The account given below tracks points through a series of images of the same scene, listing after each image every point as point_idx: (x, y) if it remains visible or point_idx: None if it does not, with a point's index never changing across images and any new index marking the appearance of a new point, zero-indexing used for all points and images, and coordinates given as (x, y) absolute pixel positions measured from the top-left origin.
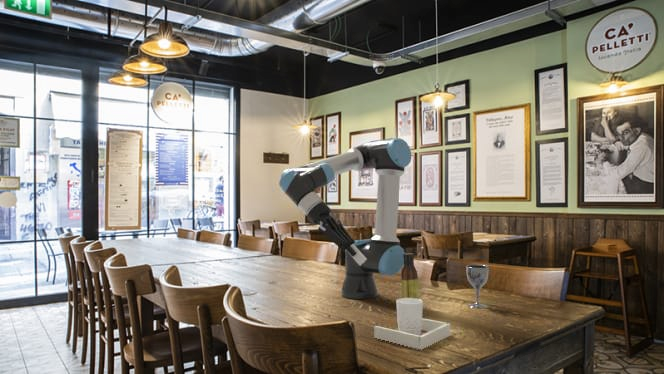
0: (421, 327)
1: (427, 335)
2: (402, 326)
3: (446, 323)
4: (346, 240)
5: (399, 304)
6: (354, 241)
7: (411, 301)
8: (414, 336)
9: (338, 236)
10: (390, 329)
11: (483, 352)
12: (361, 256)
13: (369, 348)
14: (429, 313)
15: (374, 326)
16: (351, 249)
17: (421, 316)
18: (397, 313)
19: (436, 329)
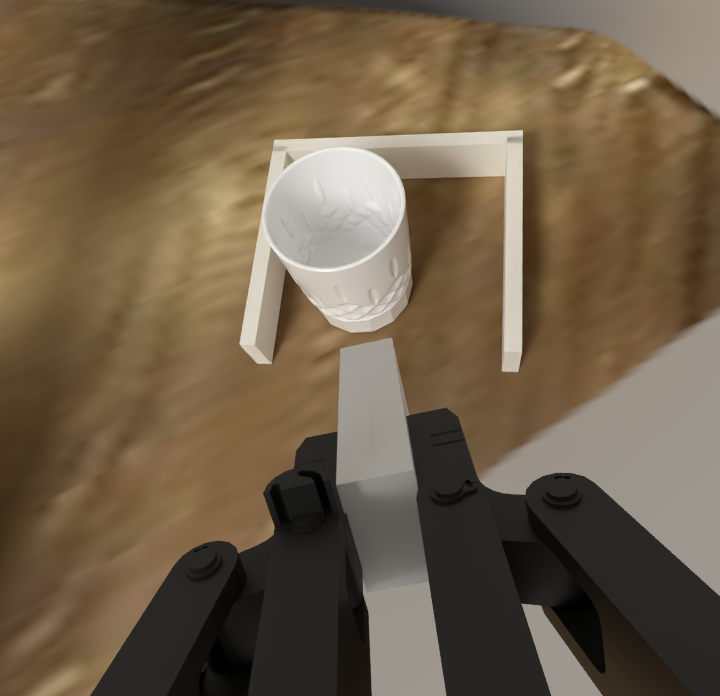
0: (280, 272)
1: (473, 134)
2: (410, 271)
3: (280, 149)
4: (452, 543)
5: (400, 230)
6: (291, 477)
7: (274, 237)
8: (522, 159)
9: (692, 617)
10: (512, 270)
11: (399, 32)
12: (397, 368)
13: (646, 318)
14: (11, 372)
15: (520, 351)
16: (467, 448)
17: (343, 193)
18: (391, 277)
19: (385, 139)
